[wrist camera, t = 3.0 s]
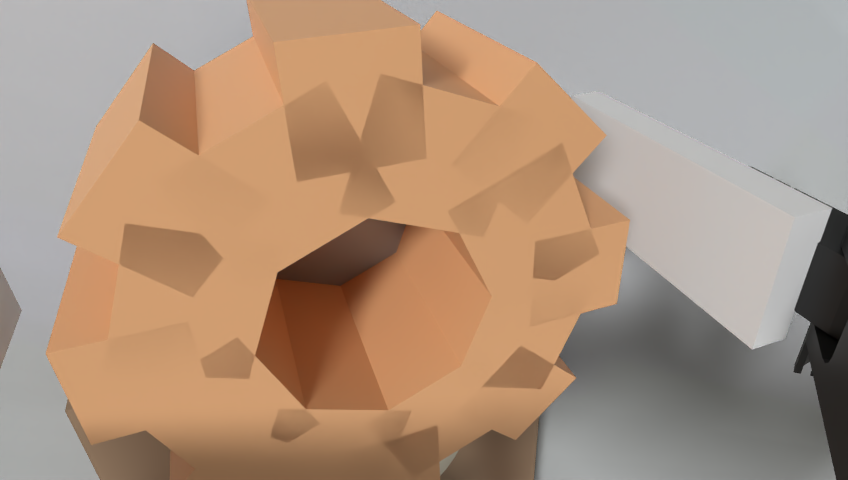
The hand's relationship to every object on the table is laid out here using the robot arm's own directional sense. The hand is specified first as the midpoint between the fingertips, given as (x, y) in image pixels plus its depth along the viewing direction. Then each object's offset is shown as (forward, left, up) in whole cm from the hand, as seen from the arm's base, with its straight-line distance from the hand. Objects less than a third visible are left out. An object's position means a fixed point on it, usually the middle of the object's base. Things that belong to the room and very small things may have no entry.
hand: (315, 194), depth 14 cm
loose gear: (0, 0, +1) cm, 1 cm away
